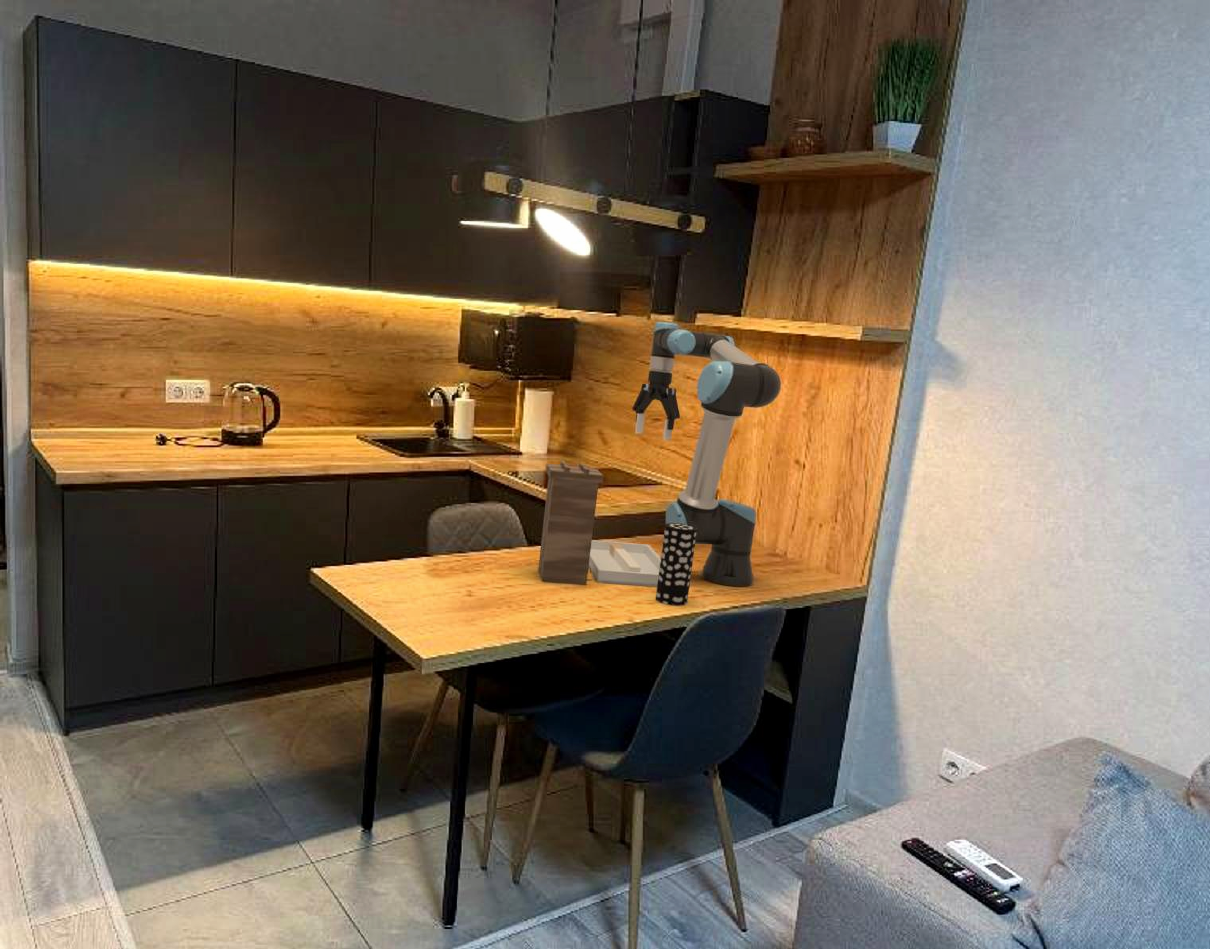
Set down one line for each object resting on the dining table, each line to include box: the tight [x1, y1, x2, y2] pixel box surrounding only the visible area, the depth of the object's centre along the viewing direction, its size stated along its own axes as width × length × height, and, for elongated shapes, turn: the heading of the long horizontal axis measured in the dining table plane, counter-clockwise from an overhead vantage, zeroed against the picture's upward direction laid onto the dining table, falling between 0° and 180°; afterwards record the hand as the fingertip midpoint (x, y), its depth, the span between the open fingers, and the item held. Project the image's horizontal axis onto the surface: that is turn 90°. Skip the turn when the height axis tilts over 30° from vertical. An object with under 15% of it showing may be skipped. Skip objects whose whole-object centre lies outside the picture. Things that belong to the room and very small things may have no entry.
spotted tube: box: [655, 523, 697, 607], centre depth 241 cm, size 8×8×20 cm
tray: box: [588, 539, 661, 588], centre depth 272 cm, size 38×22×4 cm, turn 9°
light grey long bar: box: [610, 544, 641, 572], centre depth 272 cm, size 28×3×3 cm, turn 11°
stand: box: [537, 460, 604, 586], centre depth 251 cm, size 13×14×31 cm
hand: (652, 436), depth 299 cm, fingers open, 13 cm apart
